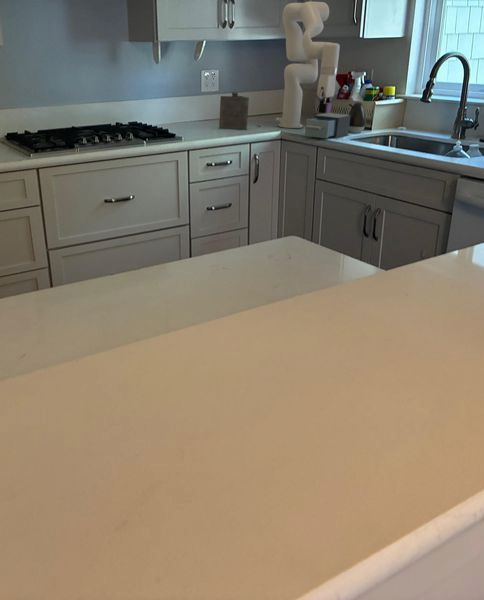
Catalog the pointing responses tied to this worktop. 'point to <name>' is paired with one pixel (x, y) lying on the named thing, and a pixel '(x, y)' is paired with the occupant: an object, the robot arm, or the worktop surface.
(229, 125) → the flask
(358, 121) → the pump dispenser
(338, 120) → the grey drawer box
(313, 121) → the sliding drawer
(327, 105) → the purple cube
